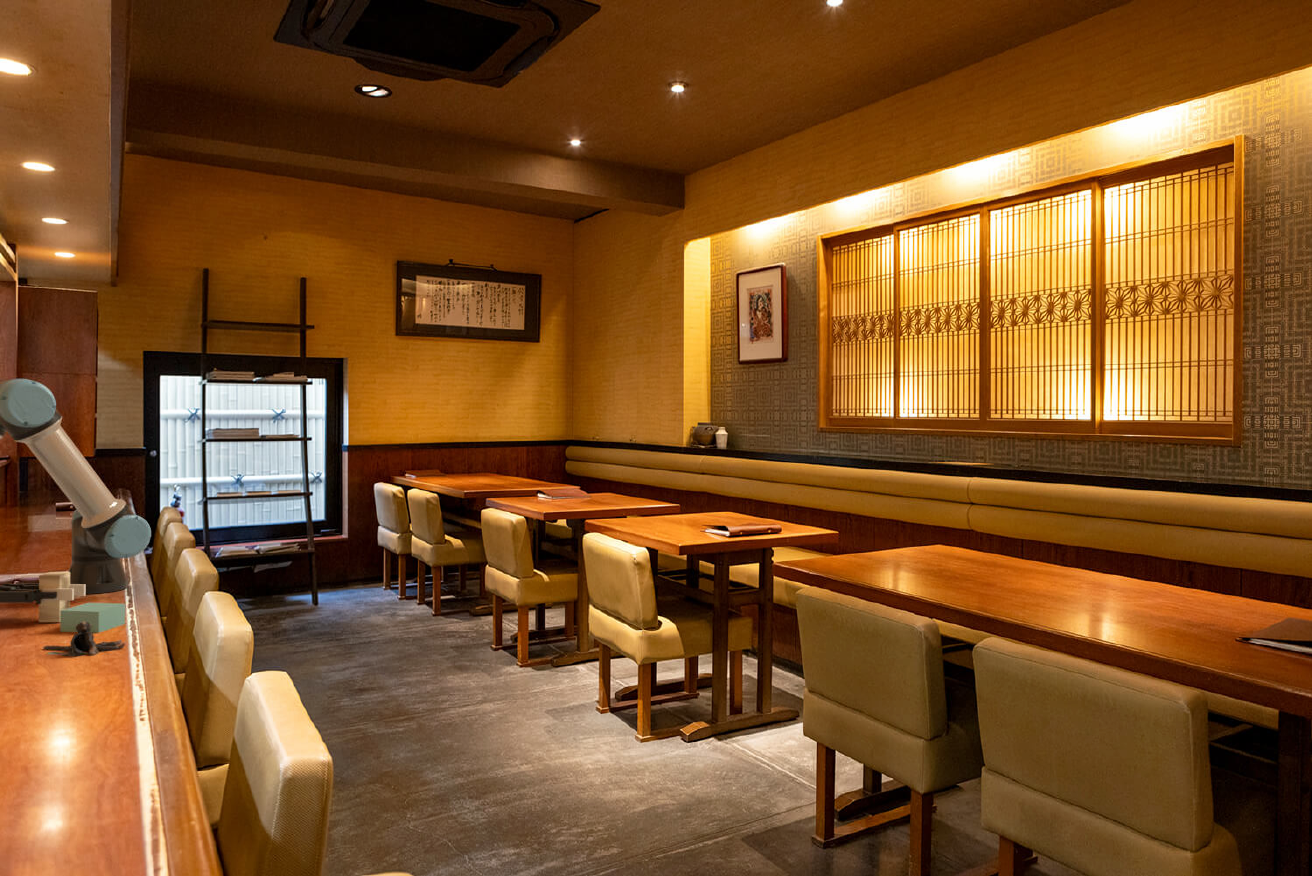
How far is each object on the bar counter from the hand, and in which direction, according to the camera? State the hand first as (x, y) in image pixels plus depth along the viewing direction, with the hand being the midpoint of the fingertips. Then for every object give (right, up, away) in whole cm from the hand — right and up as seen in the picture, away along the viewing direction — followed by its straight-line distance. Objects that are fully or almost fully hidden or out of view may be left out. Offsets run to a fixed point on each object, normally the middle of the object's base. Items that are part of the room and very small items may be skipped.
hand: (78, 592), depth 209 cm
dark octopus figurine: (+18, -8, -25) cm, 32 cm away
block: (-5, -6, -1) cm, 8 cm away
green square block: (+7, -7, -6) cm, 12 cm away
